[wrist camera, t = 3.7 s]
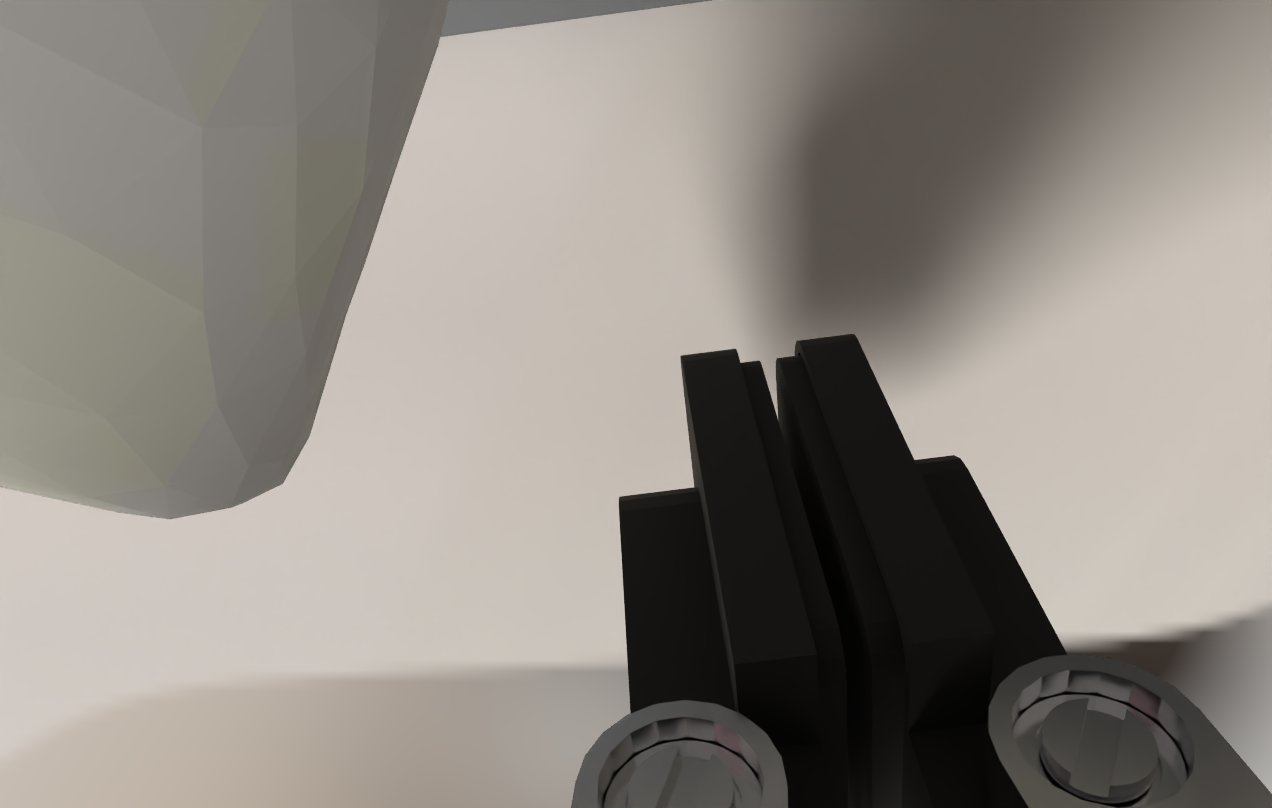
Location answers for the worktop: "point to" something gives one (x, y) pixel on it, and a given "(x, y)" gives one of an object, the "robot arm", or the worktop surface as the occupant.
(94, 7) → the teacup
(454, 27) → the t mat
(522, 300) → the worktop surface
